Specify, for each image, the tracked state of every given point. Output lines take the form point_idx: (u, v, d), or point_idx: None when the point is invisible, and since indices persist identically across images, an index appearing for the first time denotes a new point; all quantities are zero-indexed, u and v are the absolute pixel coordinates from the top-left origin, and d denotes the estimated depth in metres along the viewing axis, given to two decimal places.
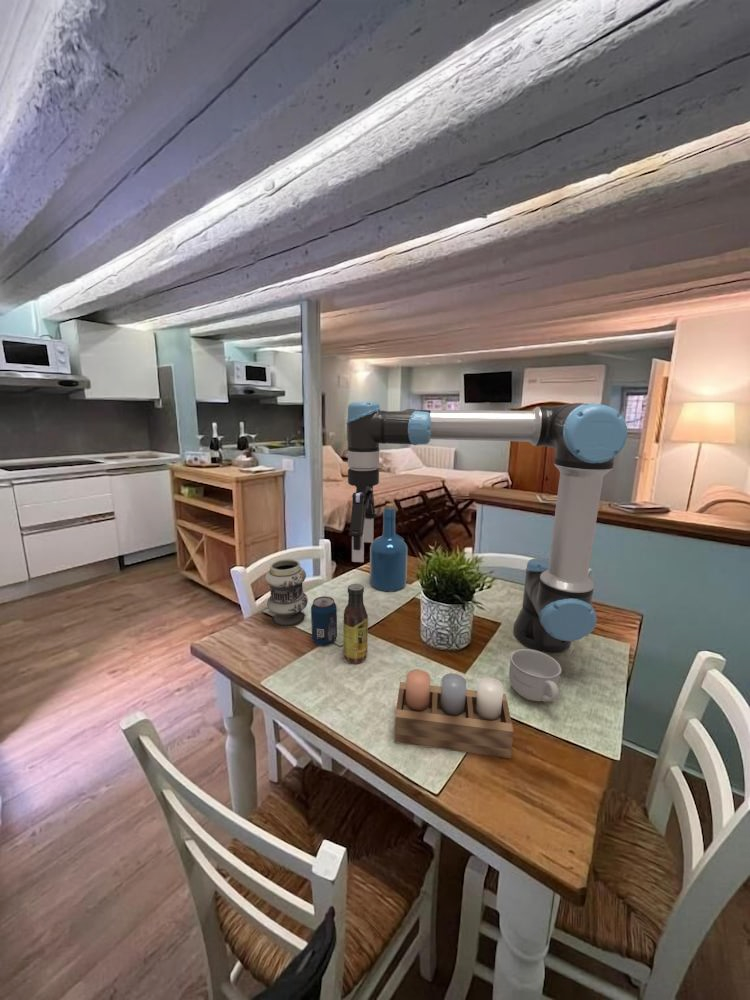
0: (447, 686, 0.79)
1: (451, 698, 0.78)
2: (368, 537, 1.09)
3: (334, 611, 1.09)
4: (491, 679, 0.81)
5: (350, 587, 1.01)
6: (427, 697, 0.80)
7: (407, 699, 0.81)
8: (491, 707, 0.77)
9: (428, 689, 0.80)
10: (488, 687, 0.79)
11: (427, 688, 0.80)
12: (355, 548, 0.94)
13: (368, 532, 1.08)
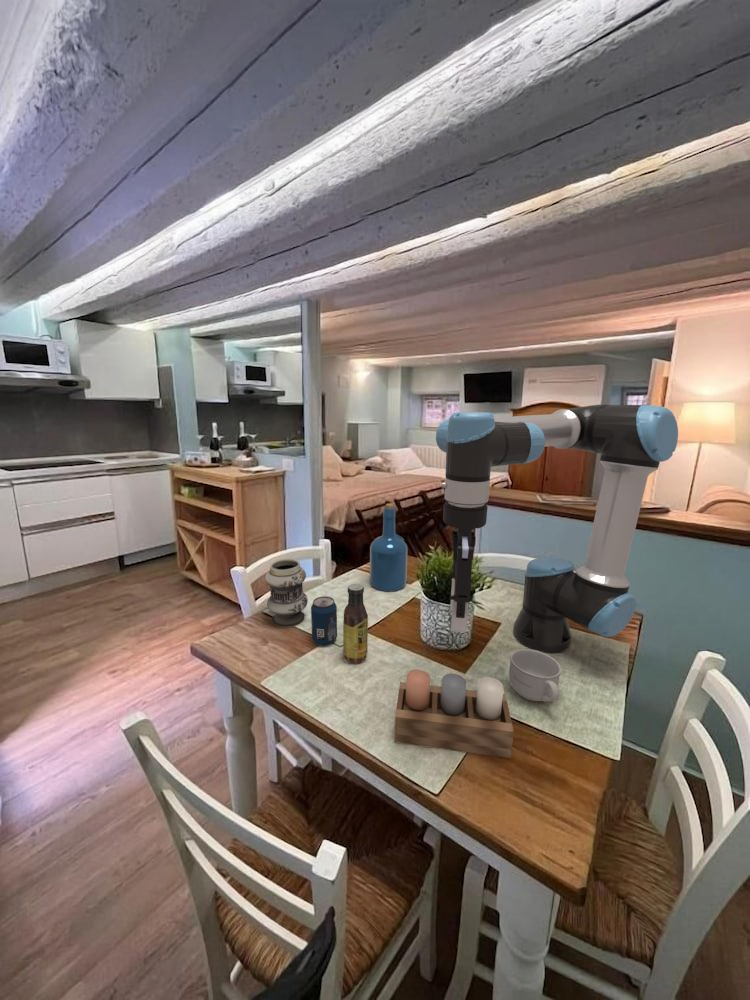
0: (447, 686, 0.79)
1: (451, 698, 0.78)
2: None
3: (334, 611, 1.09)
4: (491, 679, 0.81)
5: (350, 587, 1.01)
6: (427, 697, 0.80)
7: (407, 699, 0.81)
8: (491, 707, 0.77)
9: (428, 689, 0.80)
10: (488, 687, 0.79)
11: (427, 688, 0.80)
12: (458, 616, 0.71)
13: None
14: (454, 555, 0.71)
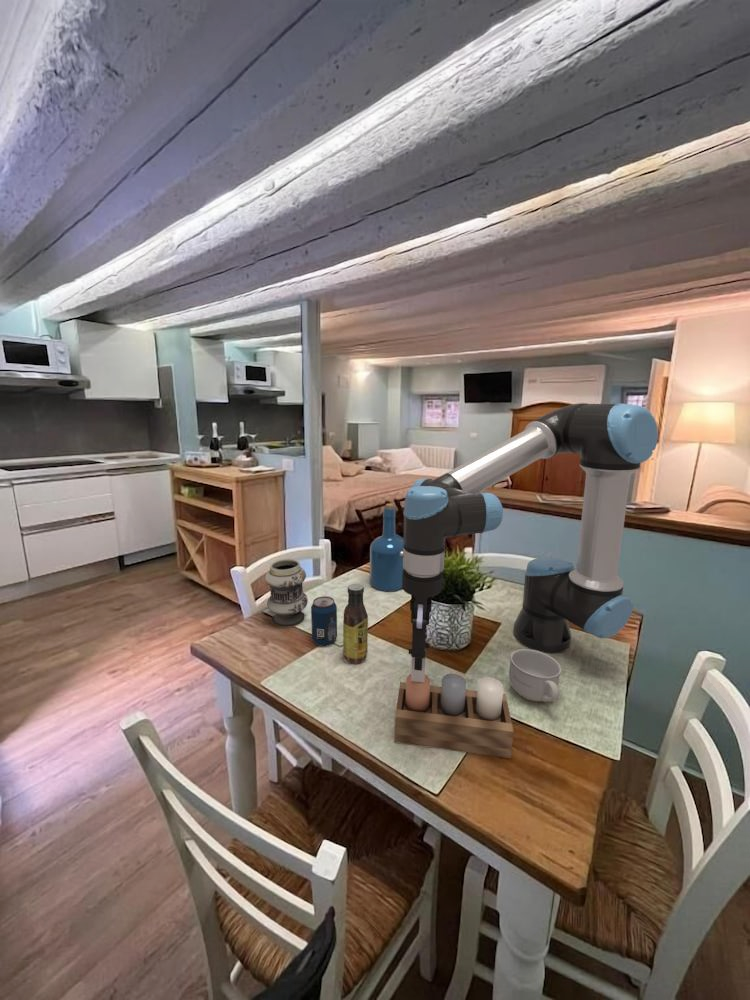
0: (447, 686, 0.79)
1: (451, 698, 0.78)
2: None
3: (334, 611, 1.09)
4: (491, 679, 0.81)
5: (350, 587, 1.01)
6: (427, 700, 0.81)
7: (407, 702, 0.81)
8: (491, 707, 0.77)
9: (428, 692, 0.80)
10: (488, 687, 0.79)
11: (427, 691, 0.80)
12: (416, 668, 0.79)
13: None
14: (412, 619, 0.76)
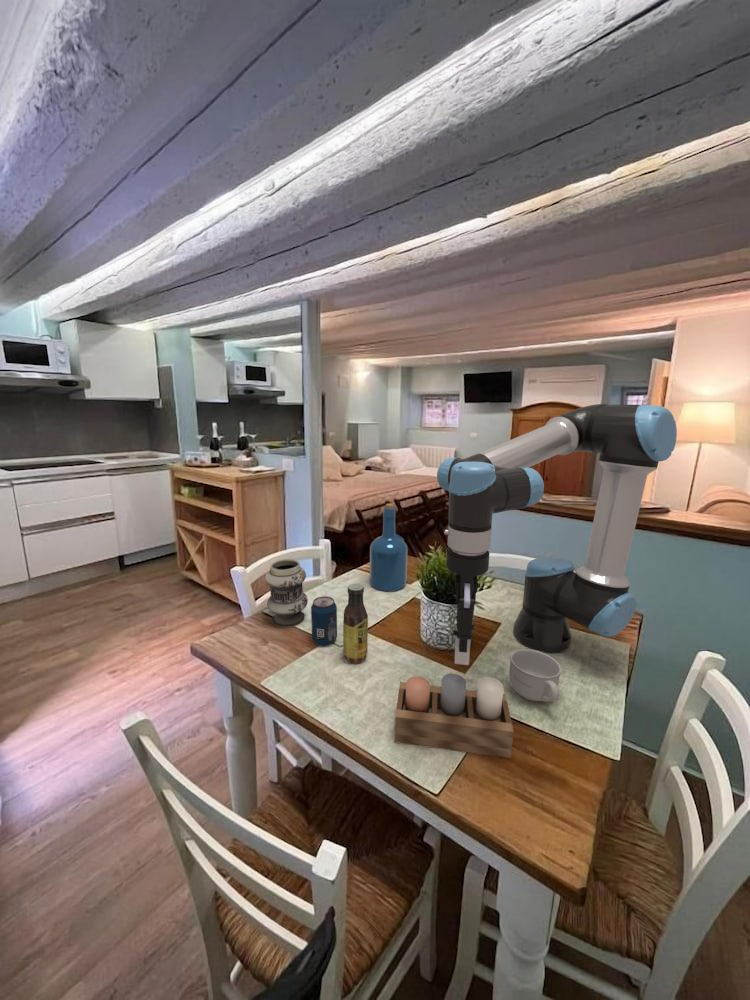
0: (447, 686, 0.79)
1: (451, 698, 0.78)
2: None
3: (334, 611, 1.09)
4: (491, 679, 0.81)
5: (350, 587, 1.01)
6: (427, 704, 0.81)
7: (407, 706, 0.82)
8: (491, 707, 0.77)
9: (428, 696, 0.81)
10: (488, 687, 0.79)
11: (427, 695, 0.80)
12: (461, 650, 0.77)
13: None
14: (457, 599, 0.74)
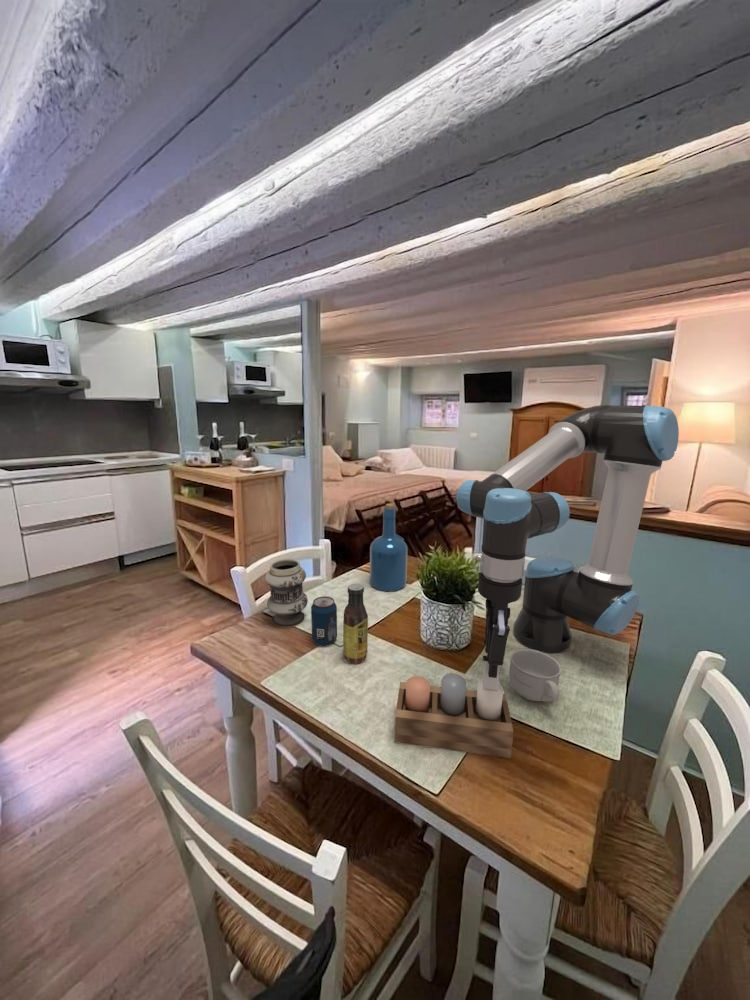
0: (447, 686, 0.79)
1: (451, 698, 0.78)
2: None
3: (334, 611, 1.09)
4: None
5: (350, 587, 1.01)
6: (427, 704, 0.81)
7: (407, 706, 0.82)
8: (491, 709, 0.78)
9: (428, 696, 0.81)
10: (488, 689, 0.79)
11: (427, 695, 0.80)
12: (491, 675, 0.76)
13: None
14: (489, 625, 0.74)
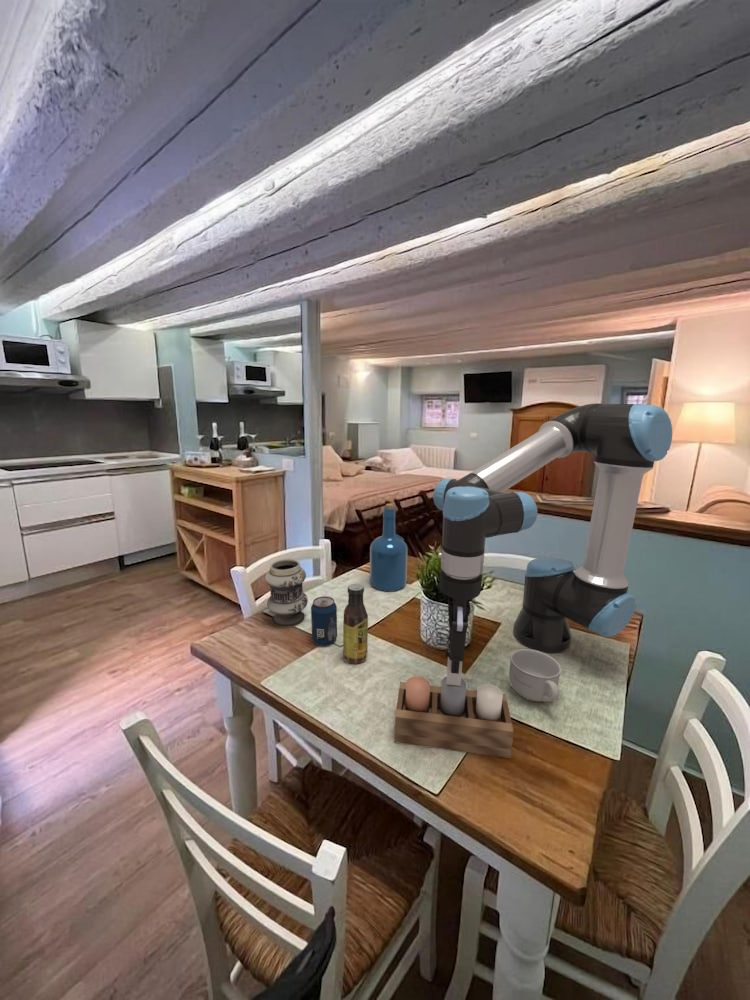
0: (447, 688, 0.79)
1: (451, 701, 0.79)
2: None
3: (334, 611, 1.09)
4: (490, 686, 0.81)
5: (350, 587, 1.01)
6: (427, 704, 0.81)
7: (407, 706, 0.82)
8: (490, 714, 0.78)
9: (428, 696, 0.81)
10: (488, 694, 0.79)
11: (427, 695, 0.80)
12: (453, 671, 0.78)
13: None
14: (450, 622, 0.75)
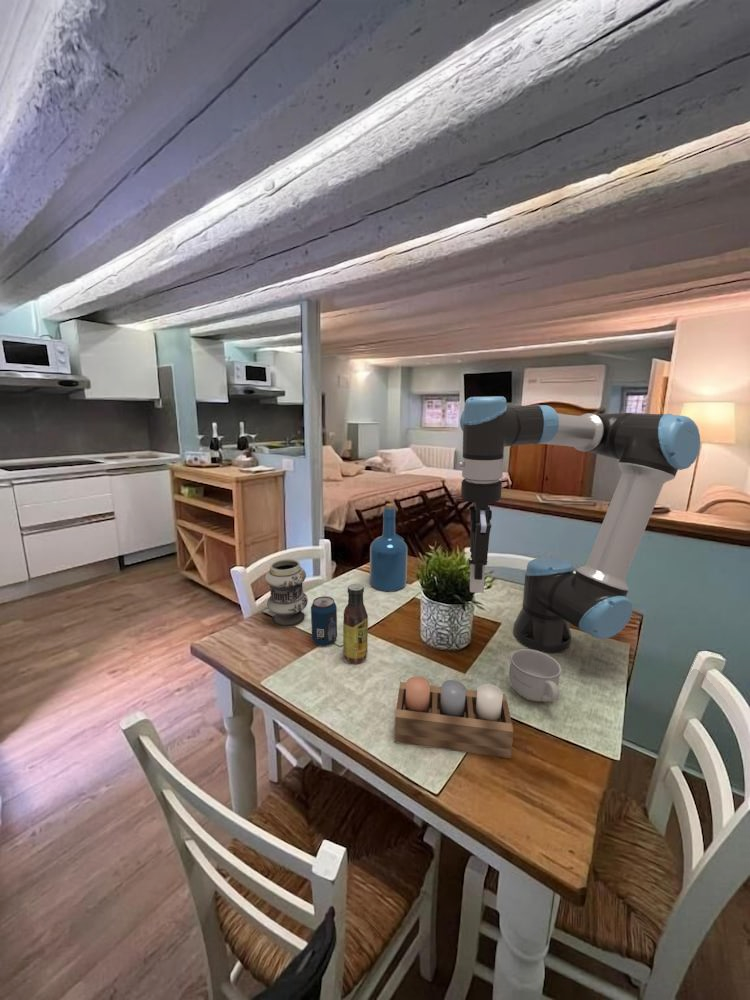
0: (447, 693, 0.79)
1: (451, 705, 0.79)
2: None
3: (334, 611, 1.09)
4: (490, 686, 0.81)
5: (350, 587, 1.01)
6: (427, 704, 0.81)
7: (407, 706, 0.82)
8: (490, 714, 0.78)
9: (428, 696, 0.81)
10: (488, 694, 0.79)
11: (427, 695, 0.80)
12: (477, 577, 0.81)
13: None
14: (472, 528, 0.79)
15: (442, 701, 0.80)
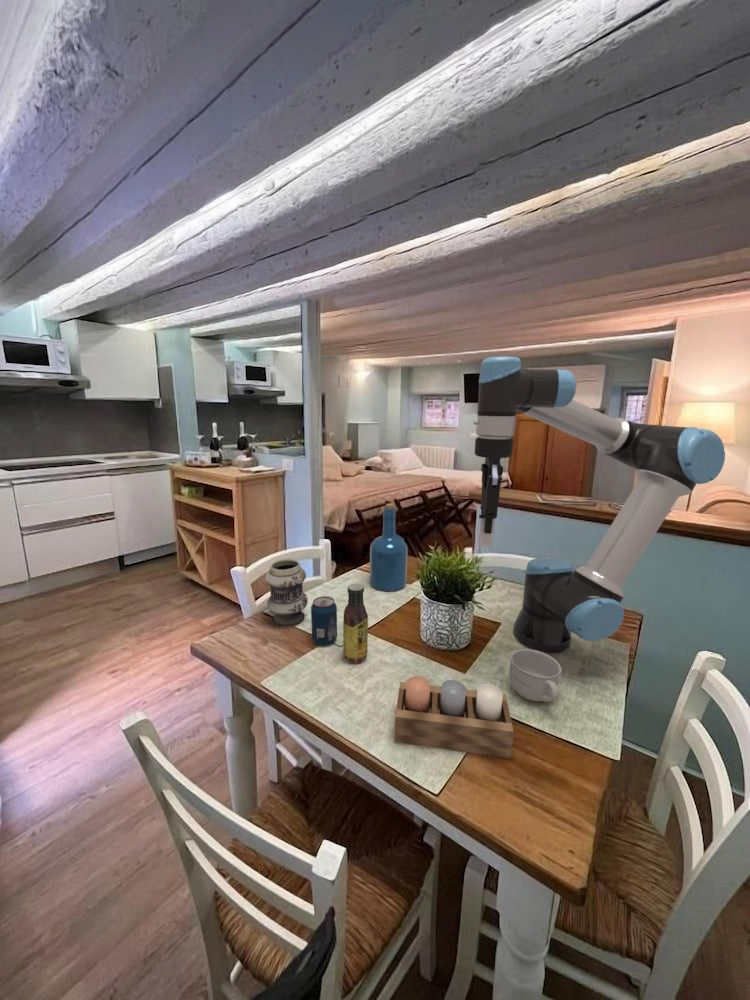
0: (447, 693, 0.79)
1: (451, 705, 0.79)
2: None
3: (334, 611, 1.09)
4: (490, 686, 0.81)
5: (350, 587, 1.01)
6: (427, 704, 0.81)
7: (407, 706, 0.82)
8: (490, 714, 0.78)
9: (428, 696, 0.81)
10: (488, 694, 0.79)
11: (427, 695, 0.80)
12: (486, 531, 0.86)
13: None
14: (484, 483, 0.84)
15: (442, 701, 0.80)
